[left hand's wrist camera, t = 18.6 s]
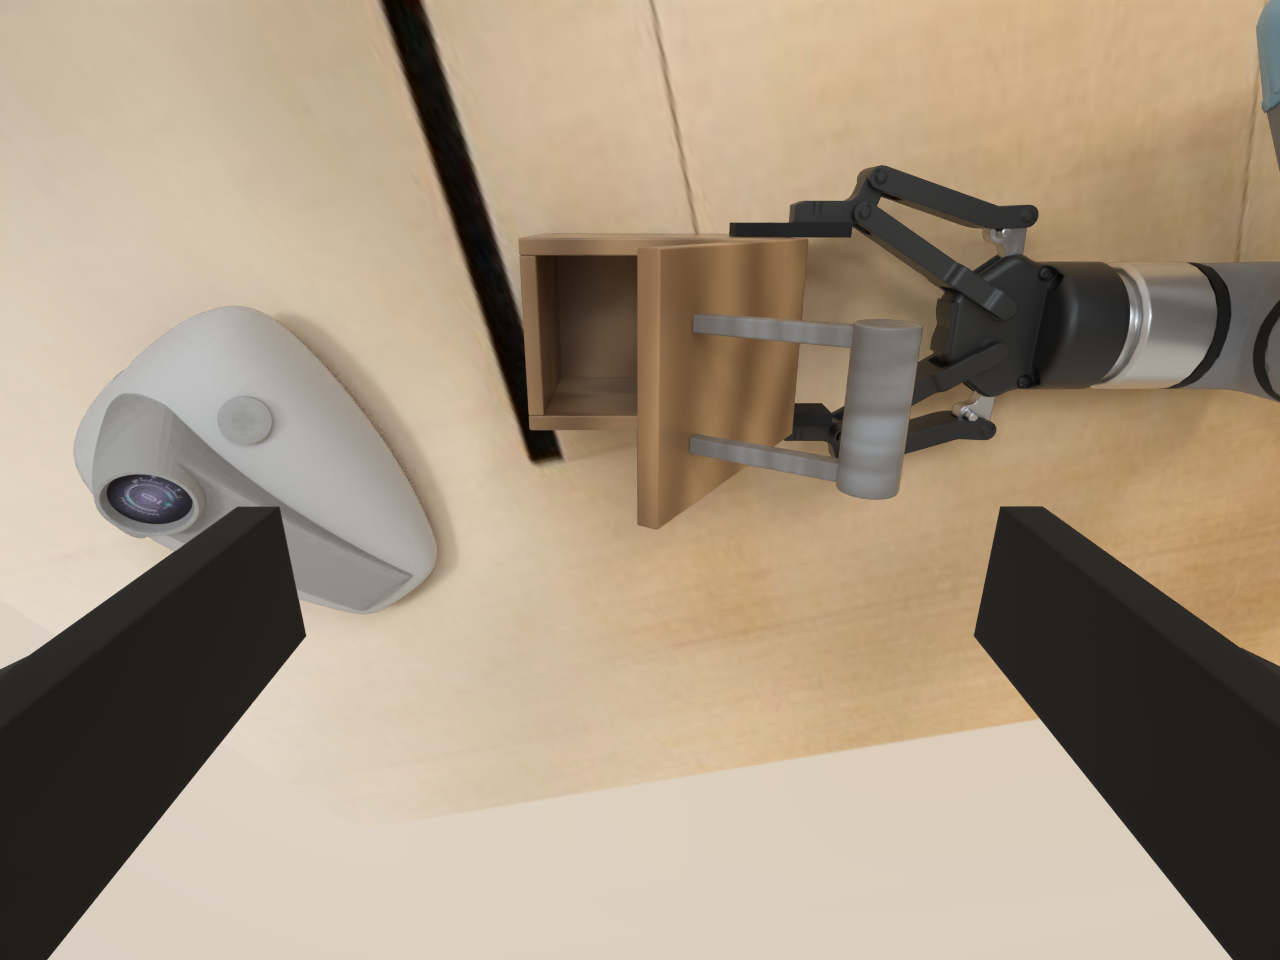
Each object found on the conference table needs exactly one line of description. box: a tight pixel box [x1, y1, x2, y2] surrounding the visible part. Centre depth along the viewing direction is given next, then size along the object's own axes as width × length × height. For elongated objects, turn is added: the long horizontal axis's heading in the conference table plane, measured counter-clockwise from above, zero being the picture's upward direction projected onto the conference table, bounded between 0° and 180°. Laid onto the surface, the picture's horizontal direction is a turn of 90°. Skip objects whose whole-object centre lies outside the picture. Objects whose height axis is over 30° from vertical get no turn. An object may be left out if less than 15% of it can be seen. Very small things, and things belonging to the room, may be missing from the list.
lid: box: [637, 238, 923, 529], centre depth 29 cm, size 15×10×9 cm
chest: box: [519, 234, 796, 430], centre depth 42 cm, size 14×10×11 cm
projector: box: [74, 306, 438, 614], centre depth 44 cm, size 22×23×15 cm
